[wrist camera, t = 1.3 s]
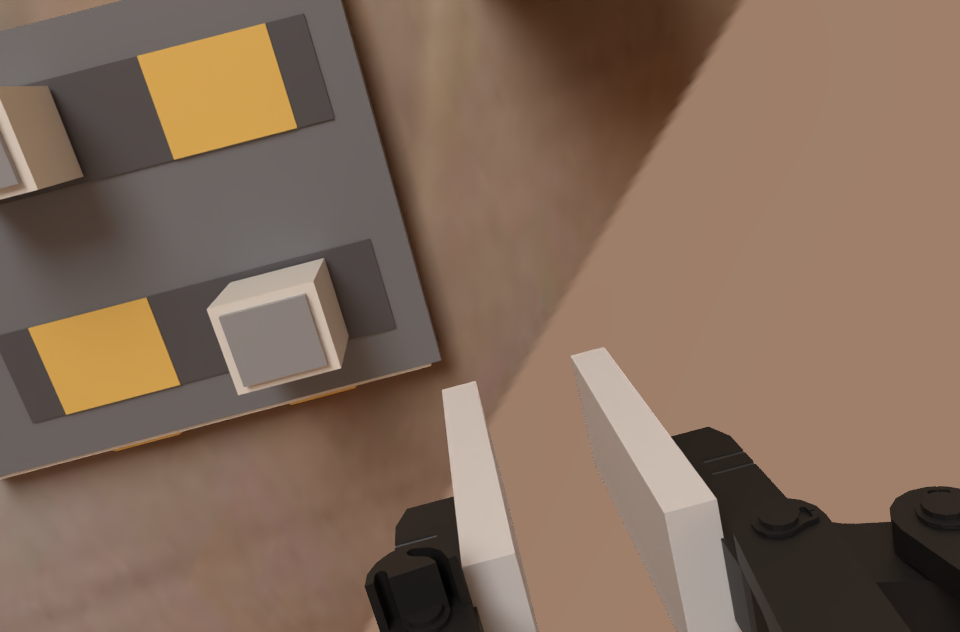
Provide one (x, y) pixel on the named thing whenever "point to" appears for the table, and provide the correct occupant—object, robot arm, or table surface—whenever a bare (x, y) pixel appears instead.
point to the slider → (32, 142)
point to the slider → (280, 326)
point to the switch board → (191, 219)
